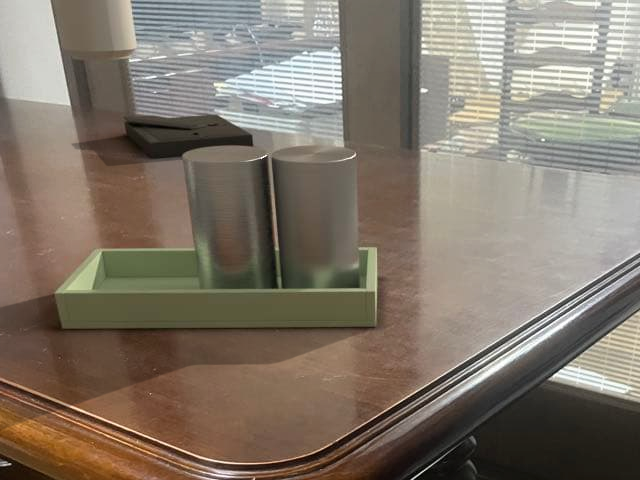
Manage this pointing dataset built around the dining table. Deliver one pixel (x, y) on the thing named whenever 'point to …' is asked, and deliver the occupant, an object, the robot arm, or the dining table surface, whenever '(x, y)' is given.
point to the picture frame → (183, 134)
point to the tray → (201, 296)
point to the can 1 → (96, 28)
